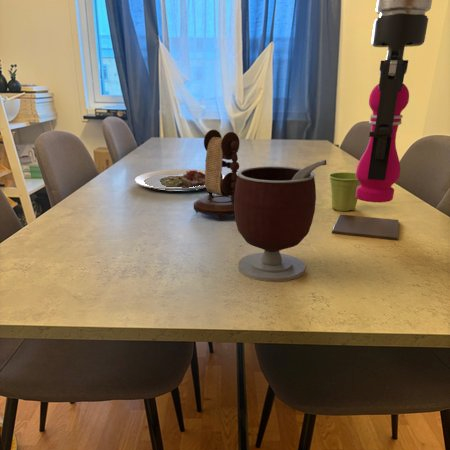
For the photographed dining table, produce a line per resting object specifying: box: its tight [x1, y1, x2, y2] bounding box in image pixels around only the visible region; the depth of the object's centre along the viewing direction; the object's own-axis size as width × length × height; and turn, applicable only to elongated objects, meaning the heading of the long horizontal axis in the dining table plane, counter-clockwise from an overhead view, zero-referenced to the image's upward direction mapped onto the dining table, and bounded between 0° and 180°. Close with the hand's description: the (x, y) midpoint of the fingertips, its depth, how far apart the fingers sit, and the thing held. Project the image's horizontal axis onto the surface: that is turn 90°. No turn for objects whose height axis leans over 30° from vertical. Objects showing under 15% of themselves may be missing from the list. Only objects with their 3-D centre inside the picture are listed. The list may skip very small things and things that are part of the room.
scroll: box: [193, 129, 241, 221], centre depth 107 cm, size 15×15×20 cm
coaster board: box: [331, 213, 399, 241], centre depth 101 cm, size 14×14×1 cm
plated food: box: [134, 168, 226, 191], centre depth 142 cm, size 30×30×3 cm
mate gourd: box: [234, 159, 327, 283], centre depth 75 cm, size 16×14×20 cm
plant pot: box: [328, 171, 361, 212], centre depth 114 cm, size 9×9×9 cm
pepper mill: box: [355, 83, 410, 203], centre depth 71 cm, size 7×7×20 cm
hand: (377, 174), depth 74 cm, fingers closed on pepper mill, 7 cm apart
